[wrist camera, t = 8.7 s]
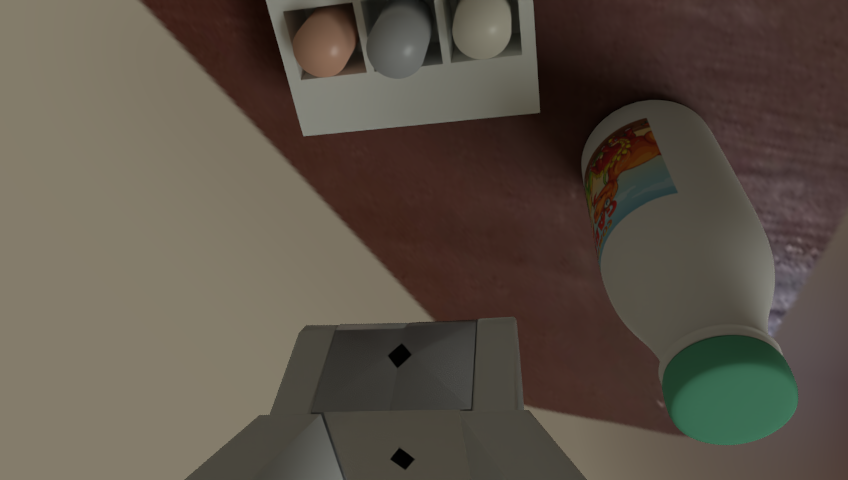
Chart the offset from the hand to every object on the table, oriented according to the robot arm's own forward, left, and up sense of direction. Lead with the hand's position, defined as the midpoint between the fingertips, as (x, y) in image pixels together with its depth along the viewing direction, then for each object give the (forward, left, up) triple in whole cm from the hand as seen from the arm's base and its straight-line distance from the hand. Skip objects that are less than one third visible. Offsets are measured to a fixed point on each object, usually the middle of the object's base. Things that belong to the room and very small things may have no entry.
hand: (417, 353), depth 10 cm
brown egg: (+3, -8, -30) cm, 31 cm away
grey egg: (+3, -4, -28) cm, 29 cm away
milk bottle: (+14, +8, -31) cm, 35 cm away
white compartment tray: (+3, -4, -31) cm, 31 cm away
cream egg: (+3, 0, -30) cm, 30 cm away
